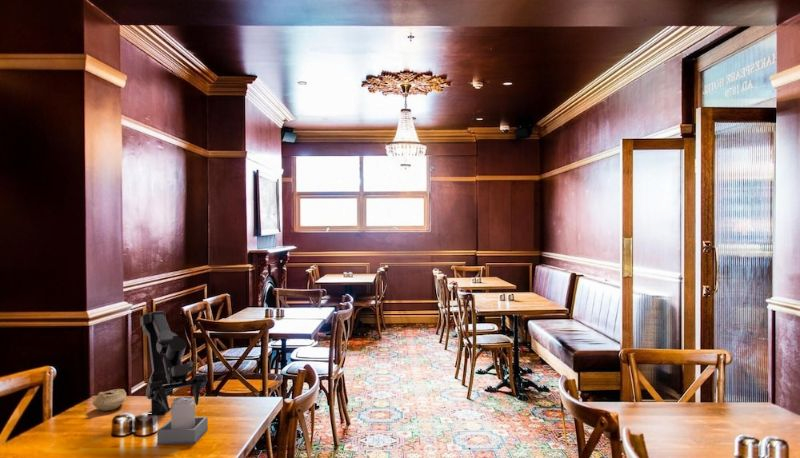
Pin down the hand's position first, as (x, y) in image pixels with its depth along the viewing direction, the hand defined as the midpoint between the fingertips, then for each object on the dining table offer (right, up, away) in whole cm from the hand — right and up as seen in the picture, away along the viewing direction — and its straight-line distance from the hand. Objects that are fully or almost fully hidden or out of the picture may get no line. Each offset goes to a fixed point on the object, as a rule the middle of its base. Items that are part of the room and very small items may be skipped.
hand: (183, 407), depth 174 cm
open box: (0, -10, 0) cm, 10 cm away
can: (0, -9, 0) cm, 9 cm away
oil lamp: (-42, -11, +31) cm, 53 cm away
